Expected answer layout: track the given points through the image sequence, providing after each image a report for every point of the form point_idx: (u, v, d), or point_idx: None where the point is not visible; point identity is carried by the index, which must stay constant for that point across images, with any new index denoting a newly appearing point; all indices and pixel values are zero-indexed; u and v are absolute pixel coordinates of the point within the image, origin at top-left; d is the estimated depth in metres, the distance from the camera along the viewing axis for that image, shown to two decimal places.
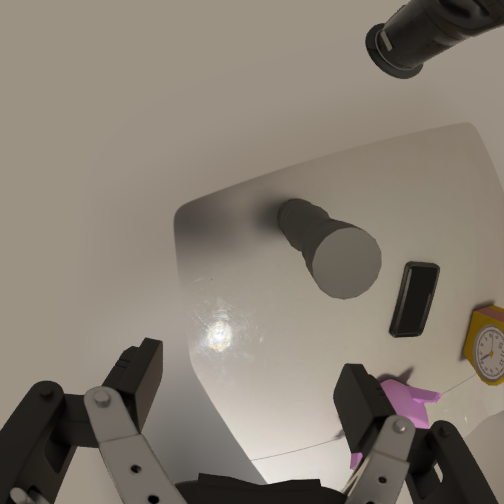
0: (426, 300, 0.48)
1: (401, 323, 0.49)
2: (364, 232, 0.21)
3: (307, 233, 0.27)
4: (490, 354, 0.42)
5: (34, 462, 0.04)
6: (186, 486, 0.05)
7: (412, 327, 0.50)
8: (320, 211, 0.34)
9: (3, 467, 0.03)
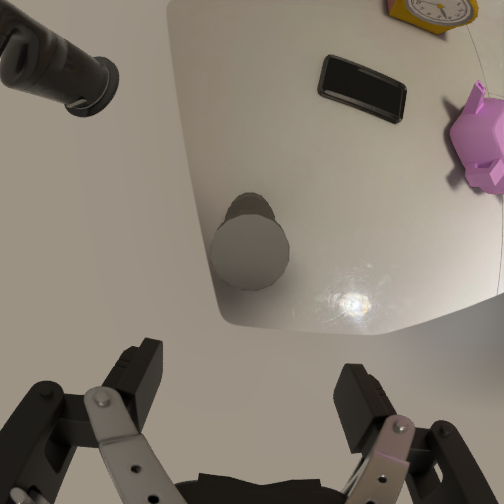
0: (365, 75, 0.38)
1: (387, 108, 0.40)
2: (217, 233, 0.20)
3: None
4: (440, 7, 0.26)
5: (34, 462, 0.04)
6: (186, 486, 0.05)
7: (395, 95, 0.39)
8: (230, 213, 0.34)
9: (3, 467, 0.03)
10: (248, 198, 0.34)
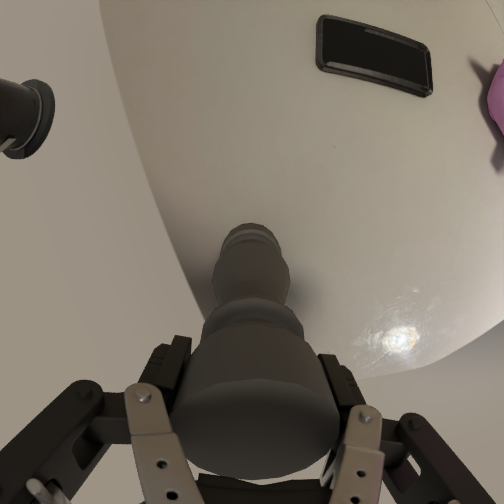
0: (376, 37, 0.25)
1: (412, 78, 0.26)
2: (174, 417, 0.08)
3: None
4: None
5: (59, 457, 0.05)
6: None
7: (417, 60, 0.25)
8: (217, 278, 0.21)
9: (25, 457, 0.04)
10: (242, 248, 0.22)
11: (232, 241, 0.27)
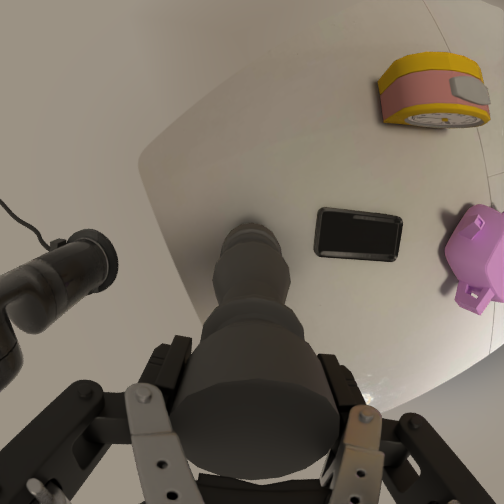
0: (361, 221, 0.44)
1: (383, 251, 0.45)
2: (174, 416, 0.08)
3: None
4: (445, 121, 0.31)
5: (59, 457, 0.05)
6: None
7: (390, 233, 0.45)
8: (217, 278, 0.21)
9: (25, 457, 0.04)
10: (242, 248, 0.22)
11: (232, 241, 0.27)
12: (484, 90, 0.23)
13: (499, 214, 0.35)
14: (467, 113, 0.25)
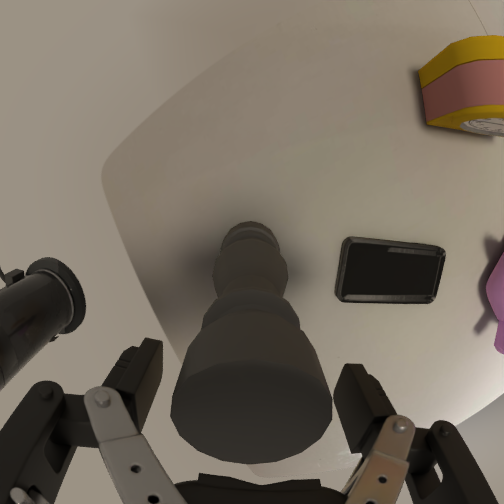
0: (397, 255, 0.32)
1: (420, 291, 0.33)
2: (176, 398, 0.08)
3: None
4: None
5: (34, 462, 0.04)
6: (186, 486, 0.05)
7: (430, 269, 0.33)
8: (217, 273, 0.22)
9: (3, 467, 0.03)
10: (241, 244, 0.22)
11: (232, 238, 0.28)
12: None
13: None
14: None
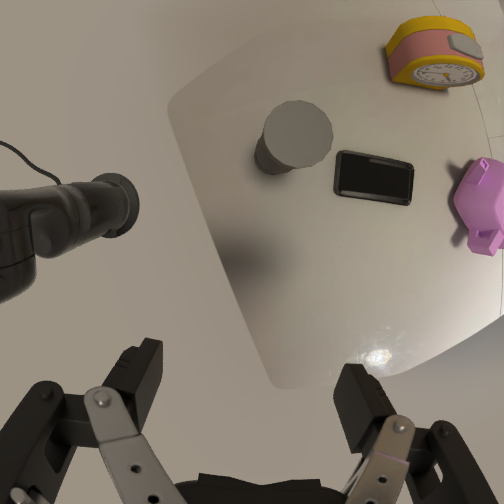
0: (376, 165, 0.45)
1: (397, 194, 0.46)
2: (267, 118, 0.21)
3: (276, 162, 0.28)
4: (446, 76, 0.32)
5: (34, 462, 0.04)
6: (186, 486, 0.05)
7: (403, 178, 0.46)
8: (261, 141, 0.34)
9: (3, 467, 0.03)
10: None
11: None
12: (477, 46, 0.24)
13: (501, 163, 0.36)
14: (464, 64, 0.26)
